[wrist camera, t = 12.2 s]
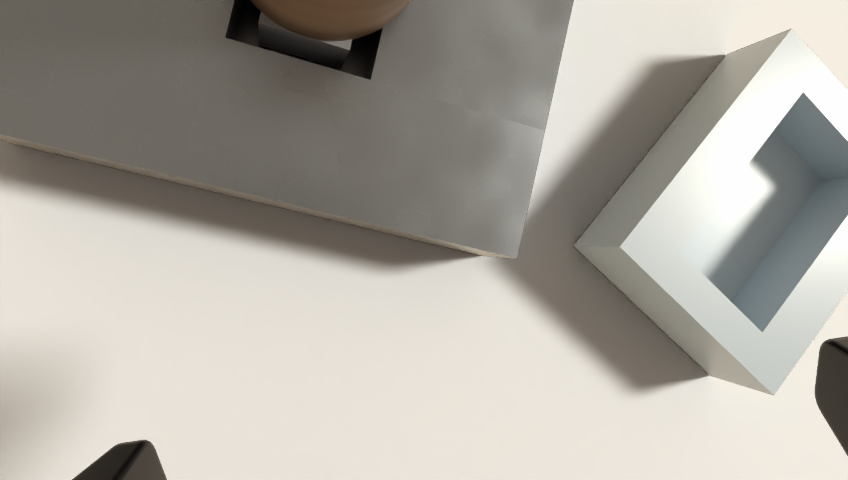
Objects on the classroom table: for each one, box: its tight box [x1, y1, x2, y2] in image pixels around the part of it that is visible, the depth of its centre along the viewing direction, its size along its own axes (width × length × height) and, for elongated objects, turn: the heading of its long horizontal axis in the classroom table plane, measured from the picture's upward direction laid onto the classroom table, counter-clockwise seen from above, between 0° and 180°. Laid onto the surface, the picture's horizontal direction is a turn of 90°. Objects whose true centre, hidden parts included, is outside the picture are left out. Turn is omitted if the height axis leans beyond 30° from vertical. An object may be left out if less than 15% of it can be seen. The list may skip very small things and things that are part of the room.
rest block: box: [573, 29, 848, 395], centre depth 22 cm, size 9×7×3 cm
